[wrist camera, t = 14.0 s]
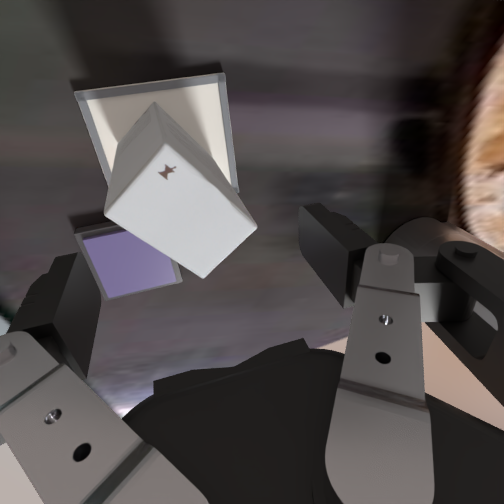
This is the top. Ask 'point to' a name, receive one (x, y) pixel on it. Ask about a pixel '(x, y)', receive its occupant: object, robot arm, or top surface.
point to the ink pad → (124, 261)
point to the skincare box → (175, 195)
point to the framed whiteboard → (171, 101)
